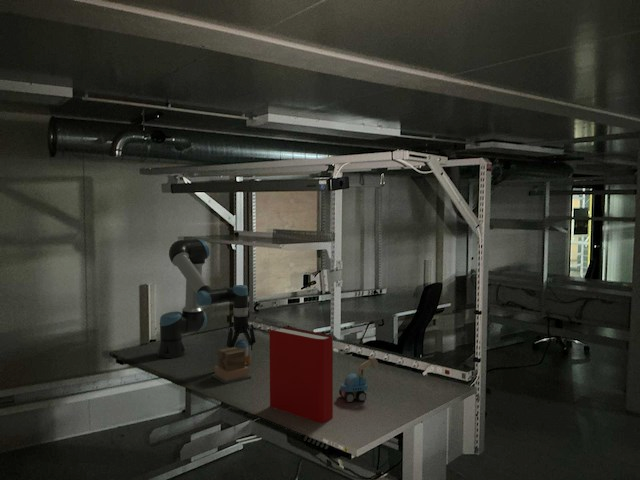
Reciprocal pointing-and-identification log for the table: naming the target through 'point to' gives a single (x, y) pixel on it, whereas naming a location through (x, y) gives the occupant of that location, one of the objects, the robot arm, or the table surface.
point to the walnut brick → (231, 358)
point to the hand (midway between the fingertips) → (241, 358)
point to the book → (302, 373)
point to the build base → (231, 374)
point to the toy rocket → (243, 346)
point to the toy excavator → (357, 383)
